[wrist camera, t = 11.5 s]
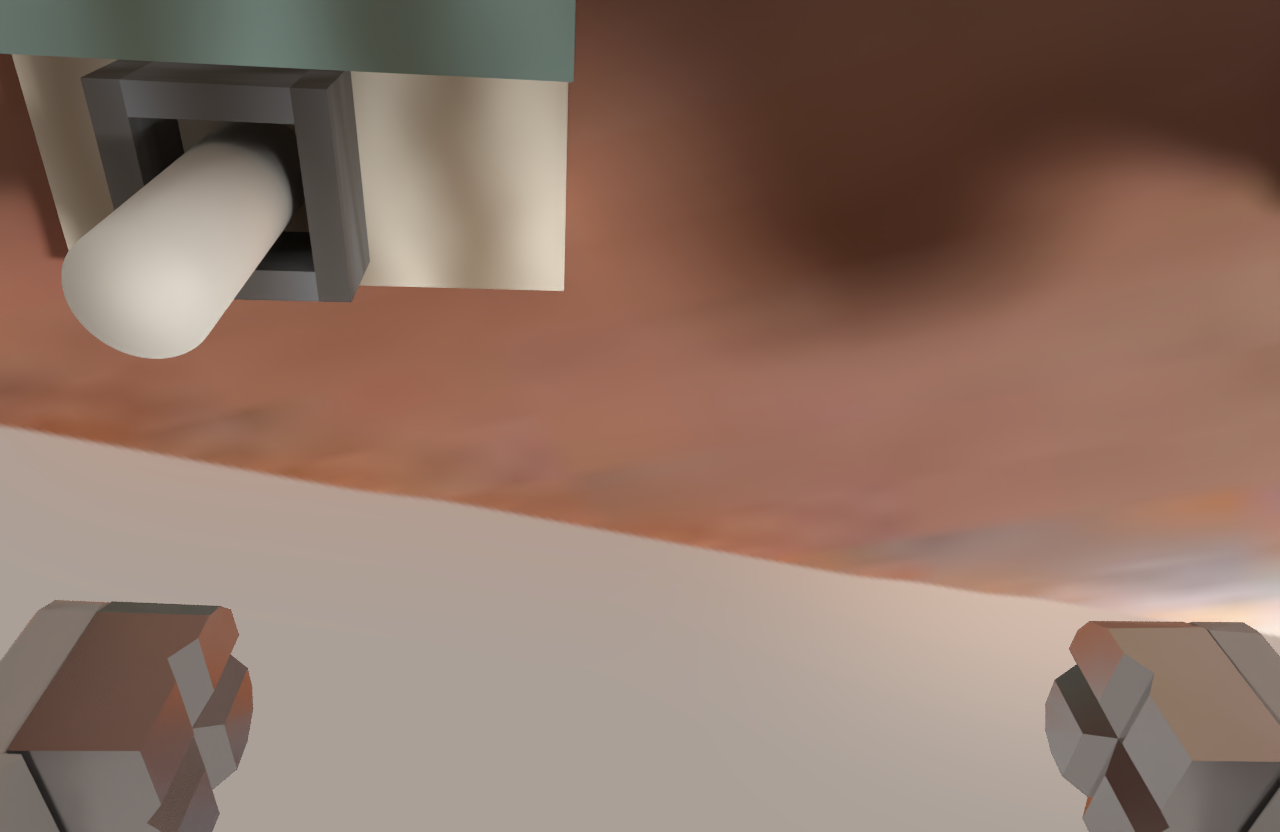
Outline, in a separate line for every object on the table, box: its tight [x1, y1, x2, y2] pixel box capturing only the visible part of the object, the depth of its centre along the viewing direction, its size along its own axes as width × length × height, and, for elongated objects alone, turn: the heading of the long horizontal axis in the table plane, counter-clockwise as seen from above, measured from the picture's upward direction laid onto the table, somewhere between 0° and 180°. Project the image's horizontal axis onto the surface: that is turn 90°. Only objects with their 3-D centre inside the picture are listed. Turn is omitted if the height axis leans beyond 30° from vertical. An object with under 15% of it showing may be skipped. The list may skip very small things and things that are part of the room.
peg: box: [61, 121, 305, 359], centre depth 30 cm, size 4×4×12 cm
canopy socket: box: [0, 0, 576, 302], centre depth 29 cm, size 20×20×13 cm
